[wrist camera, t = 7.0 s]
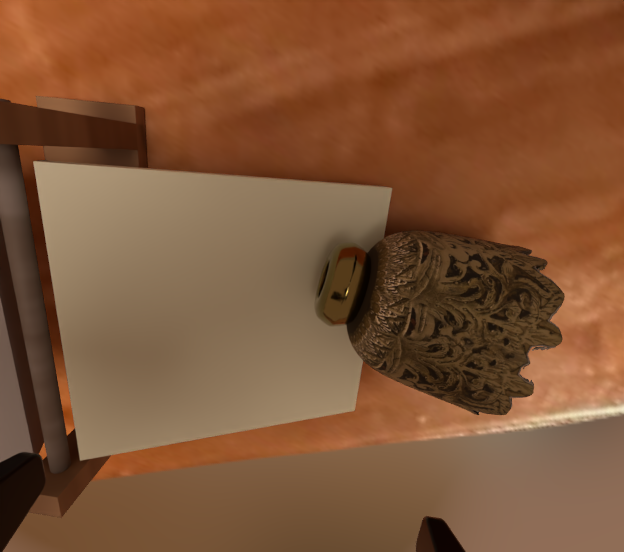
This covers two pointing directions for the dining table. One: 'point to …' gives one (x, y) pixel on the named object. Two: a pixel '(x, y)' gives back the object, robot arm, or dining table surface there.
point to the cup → (443, 313)
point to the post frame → (23, 261)
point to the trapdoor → (185, 304)
